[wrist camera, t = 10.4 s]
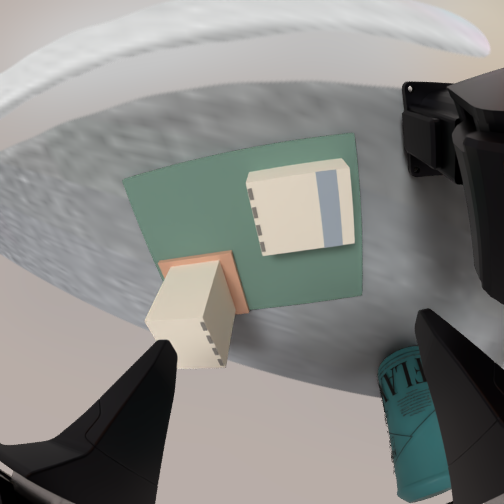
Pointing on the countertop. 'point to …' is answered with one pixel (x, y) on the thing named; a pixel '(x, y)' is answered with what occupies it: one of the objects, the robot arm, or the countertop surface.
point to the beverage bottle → (413, 427)
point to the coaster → (228, 270)
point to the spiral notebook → (302, 206)
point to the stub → (194, 315)
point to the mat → (247, 221)
